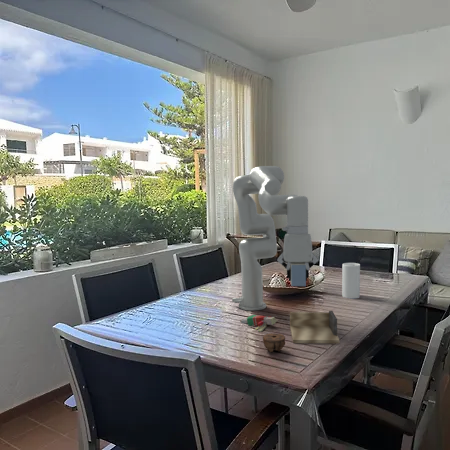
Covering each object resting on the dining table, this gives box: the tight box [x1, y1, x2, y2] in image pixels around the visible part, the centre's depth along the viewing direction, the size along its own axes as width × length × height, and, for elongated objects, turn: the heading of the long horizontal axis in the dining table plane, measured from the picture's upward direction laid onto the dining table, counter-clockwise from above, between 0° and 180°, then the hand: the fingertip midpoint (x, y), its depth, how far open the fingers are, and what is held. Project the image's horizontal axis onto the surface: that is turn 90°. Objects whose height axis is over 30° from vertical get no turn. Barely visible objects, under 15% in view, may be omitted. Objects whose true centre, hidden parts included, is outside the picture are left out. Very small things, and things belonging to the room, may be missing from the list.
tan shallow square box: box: [289, 310, 340, 345], centre depth 157 cm, size 16×16×7 cm
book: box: [289, 262, 307, 287], centre depth 154 cm, size 5×9×8 cm, turn 175°
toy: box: [239, 314, 278, 333], centre depth 170 cm, size 15×4×15 cm
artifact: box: [262, 333, 286, 353], centre depth 143 cm, size 8×8×5 cm
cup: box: [341, 262, 361, 300], centre depth 208 cm, size 8×8×16 cm
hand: (297, 279), depth 154 cm, fingers closed on book, 5 cm apart
